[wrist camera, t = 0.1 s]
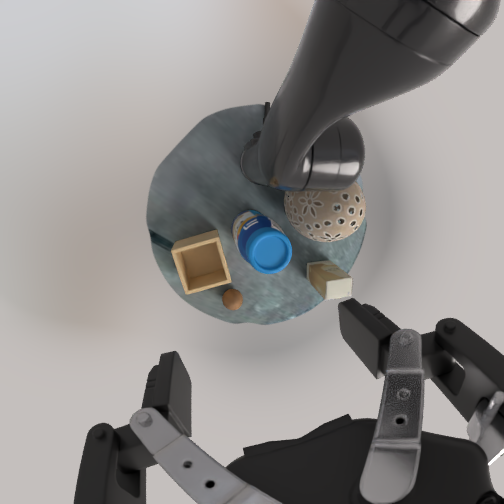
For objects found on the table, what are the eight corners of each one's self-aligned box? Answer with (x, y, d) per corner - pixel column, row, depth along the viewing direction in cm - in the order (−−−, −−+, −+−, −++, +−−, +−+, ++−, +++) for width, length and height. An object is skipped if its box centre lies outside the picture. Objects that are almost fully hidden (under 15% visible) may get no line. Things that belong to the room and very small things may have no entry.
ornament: (280, 161, 56) (316, 154, 37) (340, 174, 59) (393, 176, 40) (270, 227, 60) (300, 251, 41) (330, 235, 62) (377, 259, 43)
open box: (175, 241, 57) (170, 250, 50) (217, 229, 58) (218, 236, 51) (188, 281, 60) (186, 294, 53) (228, 269, 61) (231, 282, 53)
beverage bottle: (270, 244, 61) (299, 275, 42) (232, 250, 60) (245, 284, 41) (267, 206, 58) (296, 221, 39) (227, 211, 57) (239, 228, 38)
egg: (234, 306, 63) (237, 318, 58) (217, 297, 62) (219, 309, 56) (244, 291, 63) (248, 302, 57) (228, 282, 61) (230, 292, 56)
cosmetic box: (330, 259, 64) (354, 277, 53) (329, 276, 65) (353, 296, 54) (305, 262, 63) (326, 281, 52) (305, 279, 64) (325, 301, 53)
